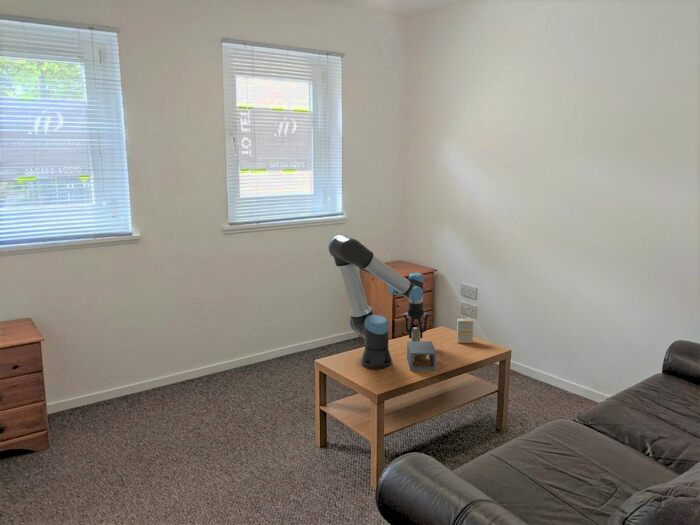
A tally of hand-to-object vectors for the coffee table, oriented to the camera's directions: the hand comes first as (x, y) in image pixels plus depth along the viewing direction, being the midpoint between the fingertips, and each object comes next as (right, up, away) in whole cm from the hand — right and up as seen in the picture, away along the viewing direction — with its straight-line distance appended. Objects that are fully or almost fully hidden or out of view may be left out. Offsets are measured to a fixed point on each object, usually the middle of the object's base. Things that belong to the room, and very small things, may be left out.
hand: (415, 343), depth 298 cm
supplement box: (+28, 0, +6) cm, 28 cm away
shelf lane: (0, -6, -25) cm, 26 cm away
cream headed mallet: (0, -3, -10) cm, 11 cm away
